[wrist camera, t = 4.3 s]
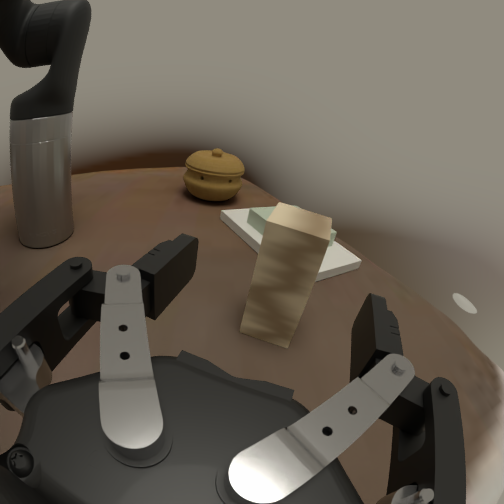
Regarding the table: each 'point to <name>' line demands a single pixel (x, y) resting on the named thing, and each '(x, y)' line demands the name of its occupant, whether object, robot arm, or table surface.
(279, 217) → the birch column
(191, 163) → the pot
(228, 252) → the table surface
